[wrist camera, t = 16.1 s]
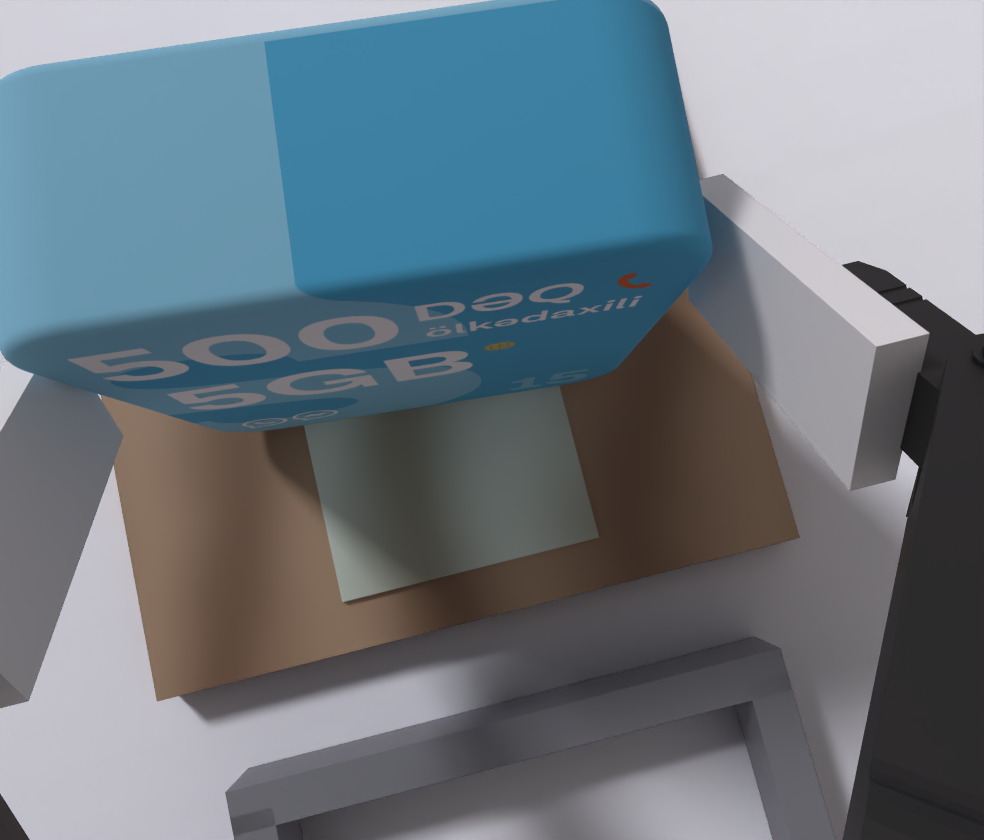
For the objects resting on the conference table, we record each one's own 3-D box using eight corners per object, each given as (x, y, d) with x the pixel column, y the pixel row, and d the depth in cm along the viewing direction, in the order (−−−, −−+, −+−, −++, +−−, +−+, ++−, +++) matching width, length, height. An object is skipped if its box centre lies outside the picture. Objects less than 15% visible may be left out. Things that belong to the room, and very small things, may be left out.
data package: (230, 438, 23) (-53, 354, 11) (214, 297, 23) (-72, 72, 11) (612, 378, 23) (744, 233, 11) (587, 241, 24) (688, -37, 12)
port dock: (174, 691, 23) (154, 702, 22) (75, 163, 25) (52, 143, 24) (784, 536, 24) (802, 537, 22) (636, 36, 26) (644, 9, 25)
